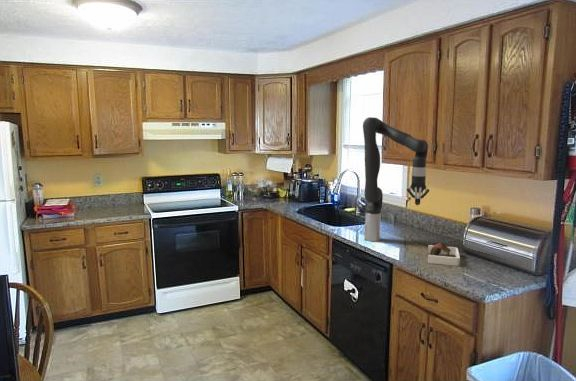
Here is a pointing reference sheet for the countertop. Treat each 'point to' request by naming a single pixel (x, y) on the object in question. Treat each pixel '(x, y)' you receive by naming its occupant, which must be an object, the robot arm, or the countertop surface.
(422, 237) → the countertop surface
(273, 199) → the countertop surface
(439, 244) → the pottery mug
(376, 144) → the robot arm
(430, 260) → the box
